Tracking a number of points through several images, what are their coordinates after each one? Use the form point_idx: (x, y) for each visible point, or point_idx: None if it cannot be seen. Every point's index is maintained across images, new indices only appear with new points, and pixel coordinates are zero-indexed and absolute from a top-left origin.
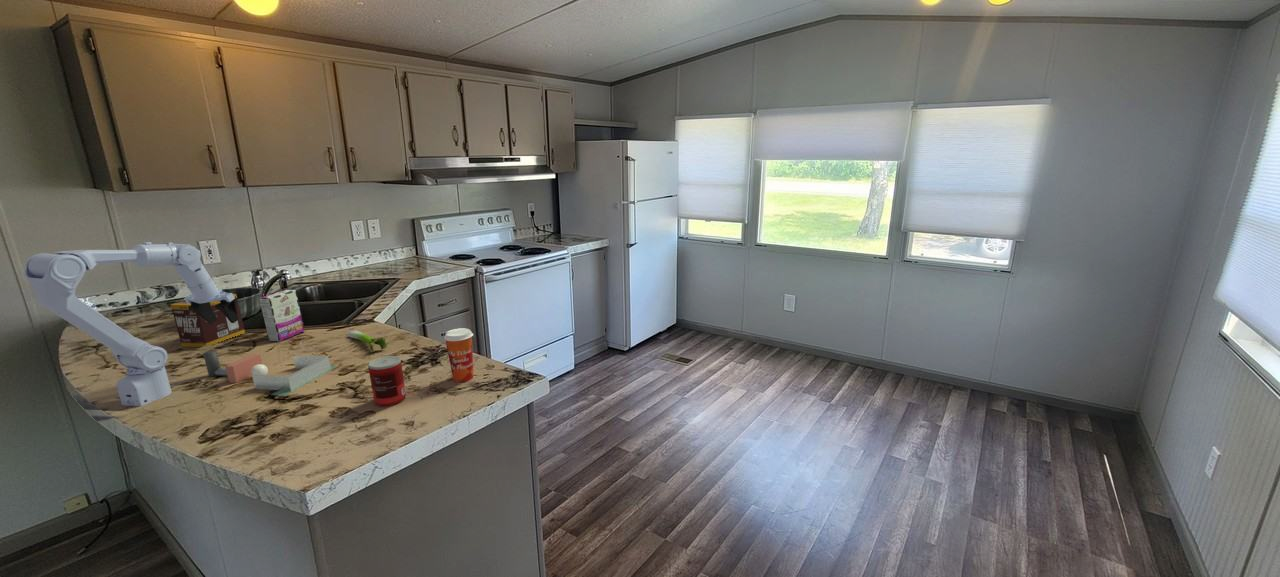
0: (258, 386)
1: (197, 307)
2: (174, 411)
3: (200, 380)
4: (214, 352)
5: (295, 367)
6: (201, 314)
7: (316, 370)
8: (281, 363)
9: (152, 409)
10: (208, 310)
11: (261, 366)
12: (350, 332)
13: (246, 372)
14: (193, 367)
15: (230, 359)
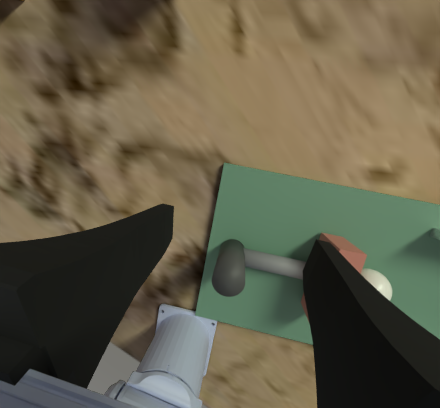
0: None
1: (84, 369)
2: (262, 385)
3: (200, 249)
4: (243, 283)
5: (435, 238)
6: (125, 304)
7: None
8: (344, 162)
9: (213, 370)
10: (128, 263)
11: (389, 300)
12: None
13: None
14: (118, 164)
15: (172, 114)
